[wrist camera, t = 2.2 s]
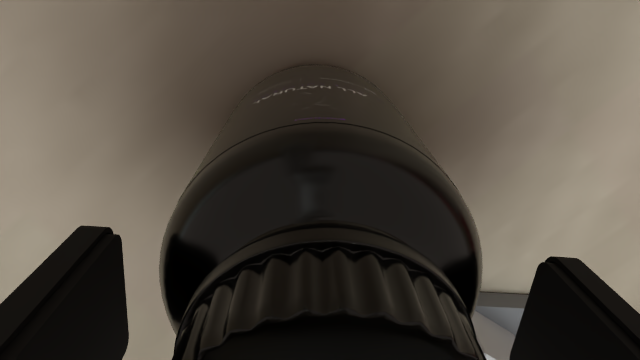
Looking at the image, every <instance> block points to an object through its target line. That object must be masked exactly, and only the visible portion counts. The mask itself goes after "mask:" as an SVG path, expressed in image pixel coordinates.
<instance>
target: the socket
mask: <svg viewBox="0 0 640 360" xmlns="http://www.w3.org/2000/svg"><path fill="white" fill-rule="evenodd" d="M528 296H529V295H525V294H506V293H488V292H480V293H479V298H478V302H477V305H476V309H475V312H474V315H473V317H472V323H473V326H474V329H475V333H476V339H477V341H478V343H479V345H480V347H481V349H482V351H483V353H484V355H485V357H486V359H487V360H509V359H510V352H511V349H512V346H513V343H514V340H515V336H516V333H517V330H518V327H519V324H520V321H521V318H522V315H523V311H524V308H525V305H526V302H527V299H528Z"/></svg>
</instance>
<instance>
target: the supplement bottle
mask: <svg viewBox="0 0 640 360" xmlns="http://www.w3.org/2000/svg"><path fill="white" fill-rule="evenodd" d="M159 278H160V287H161V294H162V299H163V303H164V306H165V310H166V313H167V316H168V318H169V321H170V323H171V326H172V328H173V330H174V332H175V334H176V336H177V337H176V341H175V347H174V355H173V358H172V360H487V359H486V357H485V355H484V353H483V351H482V349H481V347H480V345H479V343H478V341H477V339H476V333H475V329H474V326H473V323H472V317H473V315H474V312H475V309H476V305H477V302H478V298H479V293H480V288H481V281H482V251H481V245H480V239H479V235H478V232H477V228H476V225H475V222H474V220H473V217H472V215H471V213H470V210H469V209H468V207H467V205H466V203H465V202H464V200H463V198H462V196H461V195H460V193H459V191H458V190H457V188H456V187H455V185H454V184H453V182H452V181H451V180H450V178H449V177H448V176H447V174H446V173H445V172H444V170H443V169H442V168H441V166H440V165H439V164H438V162H437V161H436V160H435V158H434V157H433V156H432V155H431V153H430V152H429V151H428V149H427V148H426V147H425V145H424V144H423V143H422V141H421V140H420V139H419V138H418V136H417V135H416V134H415V132H414V131H413V130H412V128H411V127H410V126H409V124H408V123H407V122H406V121H405V119H404V118H403V117H402V115H401V114H400V113H399V111H398V110H397V109H396V107H395V106H394V105H393V104H392V102H391V101H390V100H389V99H388V98H387V97H386V96H385V95H384V94H383V92H382V91H380V90H379V89H378V88H377V87H376V86H375V85H373V84H372V83H371V82H369V81H368V80H366V79H364V78H363V77H361V76H359V75H357V74H355V73H353V72H351V71H348V70H345V69H342V68H338V67H333V66H326V65H304V66H298V67H293V68H289V69H286V70H283V71H281V72H278V73H276V74H274V75H272V76H270V77H268V78H266V79H265V80H263V81H262V82H260V83H259V84H258V85H256V86H255V87H254V88H253V89H252V90H250V91H249V93H248V94H247V95H246V96H245V97H244V98H243V99H242V100H241V102H240V103H239V104H238V106H237V107H236V108H235V110H234V111H233V113H232V114H231V116H230V118H229V119H228V121H227V123H226V124H225V126H224V127H223V129H222V131H221V132H220V134H219V136H218V137H217V139H216V140H215V142H214V144H213V145H212V147H211V149H210V150H209V152H208V153H207V155H206V157H205V158H204V160H203V162H202V163H201V165H200V166H199V168H198V170H197V171H196V173H195V175H194V176H193V178H192V179H191V181H190V183H189V184H188V186H187V188H186V189H185V191H184V193H183V194H182V196H181V198H180V199H179V201H178V203H177V205H176V208H175V210H174V212H173V214H172V216H171V218H170V220H169V223H168V225H167V228H166V231H165V234H164V237H163V242H162V247H161V252H160V264H159Z"/></svg>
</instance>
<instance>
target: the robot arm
mask: <svg viewBox="0 0 640 360" xmlns="http://www.w3.org/2000/svg"><path fill="white" fill-rule="evenodd" d="M128 339H129V332H128V319H127V306H126V293H125V279H124V266H123V253H122V241H121V237H120V236H119V235H116V234H113V231H112V229H111V228H110V227H96V226H80V227H78V228H77V229H76V230H75V231H74V232H73V233H72V234H71V235H70V236H69V237H68V238H67V239H66V240H65V241H64V242H63V243H62V244H61V245H60V246H59V247H58V248H57V249H56V250H55V251H54V252H53V253H52V254H51V255H50V256H49V257H48V258H47V259H46V260H45V261H44V262H43V263H42V264H41V265H40V266H39V267H38V268H37V269H36V270H35V271H34V272H33V273H32V274H31V275H30V276H29V277H28V278H27V279H26V280H25V281H24V282H23V283H21V284H20V285H19V286H18V287H17V288H16V289H15V290H14V291H13V292H12V293H11V294H10V295H9V296H8V297H7V298H6V299H5V300H4V301H3V302H2V303H1V304H0V360H122V358H123V356H124V354H125V352H126V349H127V345H128ZM509 360H640V314H639V313H638V312H637V311H636V310H635V309H633V308H632V307H631V306H630V305H629V304H628V303H627V302H626V301H625V300H624V299H622V298H621V297H620V296H619V295H618V294H617V293H616V292H615V291H614V290H613V289H611V288H610V287H609V286H608V285H607V284H606V283H605V282H604V281H603V280H602V279H600V278H599V277H598V276H597V275H596V274H595V273H594V272H593V271H592V270H591V269H589V268H588V267H587V266H586V265H585V264H584V263H583V262H582V261H581V260H579V259H577V258H567V257H552V256H551V257H549V258H547V260H546V261H545V262H542V263H540V264H539V266H538V268H537V271H536V274H535V277H534V280H533V283H532V286H531V289H530V293H529V296H528V299H527V302H526V305H525V308H524V311H523V315H522V318H521V321H520V324H519V327H518V330H517V333H516V336H515V340H514V343H513V346H512V349H511V352H510V359H509Z"/></svg>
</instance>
